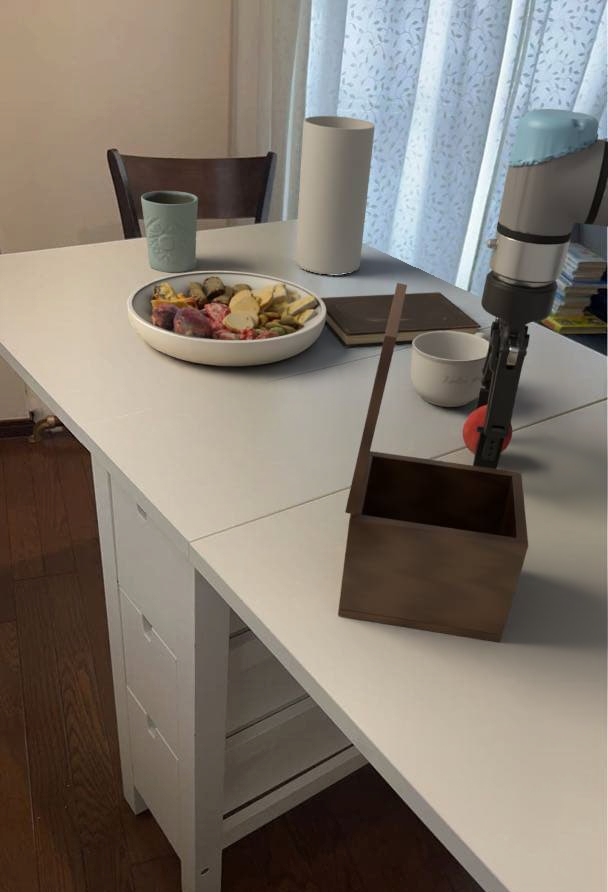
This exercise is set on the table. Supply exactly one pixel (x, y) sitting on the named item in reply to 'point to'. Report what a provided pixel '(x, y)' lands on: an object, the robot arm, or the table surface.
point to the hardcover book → (369, 315)
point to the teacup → (448, 366)
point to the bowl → (226, 317)
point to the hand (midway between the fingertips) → (481, 457)
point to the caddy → (435, 546)
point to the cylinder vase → (333, 193)
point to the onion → (472, 436)
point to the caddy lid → (376, 397)
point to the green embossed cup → (170, 229)
